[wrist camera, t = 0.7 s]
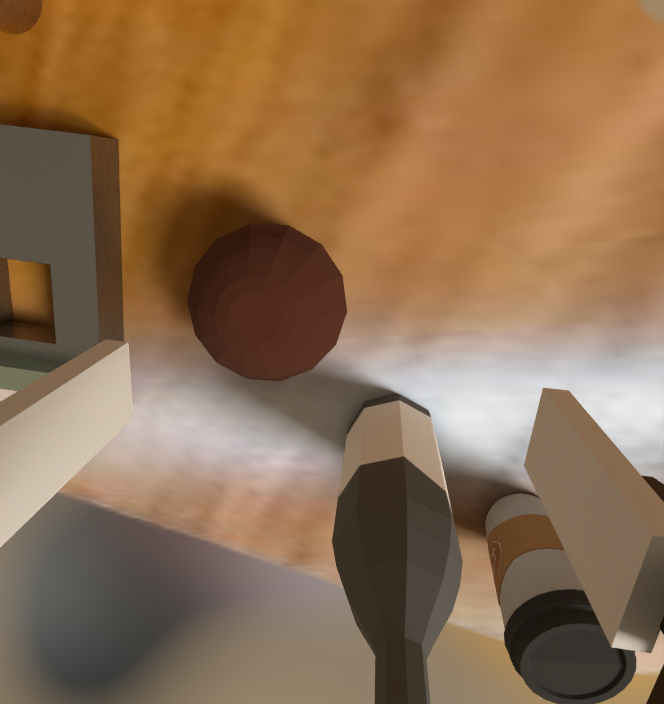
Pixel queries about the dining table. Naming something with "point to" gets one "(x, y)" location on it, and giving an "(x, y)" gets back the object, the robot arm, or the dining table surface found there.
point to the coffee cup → (549, 610)
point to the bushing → (19, 15)
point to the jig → (59, 245)
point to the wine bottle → (396, 543)
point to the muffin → (267, 302)
